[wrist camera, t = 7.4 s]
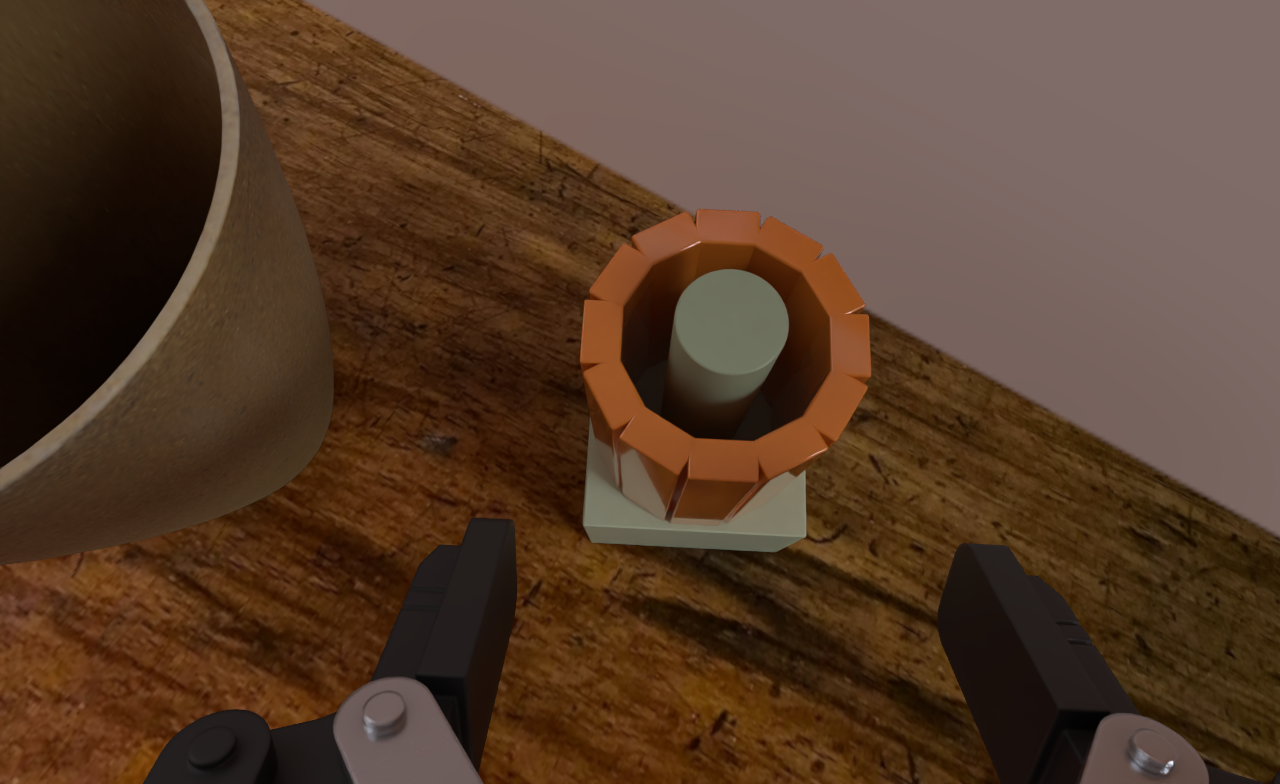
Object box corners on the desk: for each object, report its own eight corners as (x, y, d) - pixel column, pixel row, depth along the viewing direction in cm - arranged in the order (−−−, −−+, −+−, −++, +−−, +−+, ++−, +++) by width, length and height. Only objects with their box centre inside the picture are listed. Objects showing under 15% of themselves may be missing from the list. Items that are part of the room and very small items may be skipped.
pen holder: (797, 333, 25) (865, 216, 18) (800, 530, 23) (876, 488, 16) (602, 323, 25) (591, 202, 18) (588, 519, 23) (570, 472, 16)
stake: (776, 375, 30) (888, 185, 17) (776, 552, 28) (902, 490, 15) (602, 366, 30) (580, 169, 17) (590, 542, 28) (555, 472, 15)
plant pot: (297, 685, 26) (-169, 772, 11) (-43, 494, 28) (-853, 339, 13) (508, 326, 30) (383, 21, 15) (198, 178, 32) (-198, -229, 17)
